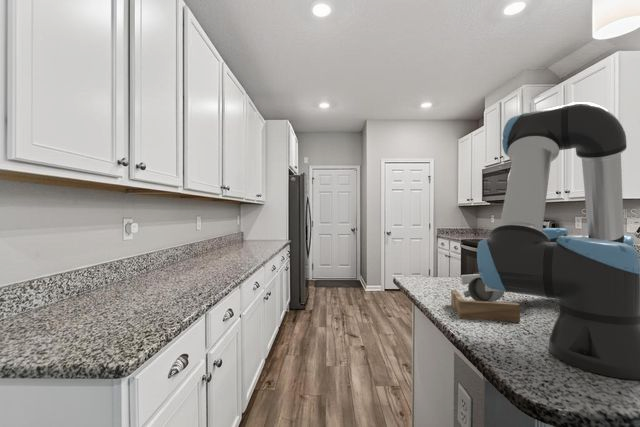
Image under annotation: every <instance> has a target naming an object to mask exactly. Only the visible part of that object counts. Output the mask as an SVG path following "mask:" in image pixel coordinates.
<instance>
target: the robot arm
mask: <svg viewBox="0 0 640 427" xmlns="http://www.w3.org/2000/svg"><path fill="white" fill-rule="evenodd" d="M624 129H625V128H624V127H623V125H622V124H621V122H620V120H618V118H617V117H616V116H615V115H614V114H613V113H612V112H610V111H609V110H608V109H607V108H605V107H603V106H601V105H598V104H595V103H592V102H586V101H583V102H581V101H580V102H572V103H569V104H565V105H559V106H555V107H549V108H545V109H540V110H535V111H531V112H524V113H521V114H518V115H515V116H512V117H510V118H509V119H508V120H507V121H506V123H505V125H504V127H503V131H502V139H501V141H502V149H503V153H504V154H505V155H506V156H507V157H508V159H509V160H511V165H510V166H511V167H510V170H509V175H508V180H507V187H506V191H505V194H504V195H505V197H504V200H503V206H502V210H501V211H502V212H501V216H500V220H499V221H500V222H499V225H498V226H495V227H494V228H492V229H491V231H490V235H489V239H488V238H484V239H481V240H479V242H478V243H477V249H476V258H477V260H476V261H477V268H478V272H473V274H461V275H460V278H461V279H460V284H461V285H469V282H470V281H471V280H472V279H473V278H475V277H481V279H482V281H483V282H484V284H485V291H497V290H502V291H504V293H508V292H509V293H514V294H521V295H529V296H534V297H535V296H536V297H541V298H548V299H549V298H550V299H554V300H555V299H557V300H558V308H559V309H558V315H557V318H556V320H555V322H554V325H553V327H552V330H551V333H550V335H549V337H548V349H549V352H550V354H551V355H553V356H554V357H556V358H557V359H559V360H561V361H562V362H565V363H567V364H569V365H570V366H573V367H576V368H579V369H581V370H584V371H588V372H591V373H594V374H596V375H597V374H599V375H602V376H607V377H612V378H617V379H623V380H631V381H632V380H633V381H634V380H635V381H637V380H638V381H640V253H639V251H638V250H637V249H636V248H635V247H634V238H633V236H630V235H626V234H625V232H624V206H623V205H624V204H623V201H624V200H623V178H622V171H623V170H622V153H624V152H625V151H626V150H627V145H628V144H627V136H626V131H625V130H624ZM571 149H575V153H576V154H575V155H576V156H577V157H578V158H579V159H581V166H582V178H583V188H584V189H583V190H584V201H585V209H586V210H585V211H586V224H587V234H576V233H575V234H574V233H569V231H568V229H567V228H563V227H562V228H561V227H560V228H559V227H555V228H554V227H545V228H544V221H545V220H544V219H545V211H546V203H547V195H548V186H549V178H550V171H551V164H552V162H553V161H555V160H556V159H557V158H558V156H559V154H560V151H563V150H571Z"/></svg>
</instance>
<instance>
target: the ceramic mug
mask: <svg viewBox="0 0 640 427" xmlns="http://www.w3.org/2000/svg"><path fill="white" fill-rule="evenodd" d="M504 294H505V292H504V291H502V290H497V291H485V284H484V282H483V281H482V279H481V277H475V278H473V279H472V280H471V281H470V282H469V284H467V290H466V291H464V292H463V295H464V297H465V298H469V297H470V298H471V299H472V301H486V302H496V301H498V300H500V299H501V298H502V297H503V296H504Z"/></svg>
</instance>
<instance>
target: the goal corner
mask: <svg viewBox="0 0 640 427" xmlns="http://www.w3.org/2000/svg"><path fill="white" fill-rule="evenodd" d="M450 298H451V299H450V304H451V306H452V308H453V309H454V310H455V312H456V314H457V316H459V319H468V320H469V319H471V320H482V321H483V320H485V321H498V322H499V321H500V322H512V321H513V322H514V323H515V322H516V323H521V304H520V303H518V302H502V301H498V302H497V301H492V302H486V301H475V300H467V299H466V300H465V299H464V298H463V297H462V295H461V294H460V293H459V292H458V291H457V290H455V289H453V290H451V291H450Z"/></svg>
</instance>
